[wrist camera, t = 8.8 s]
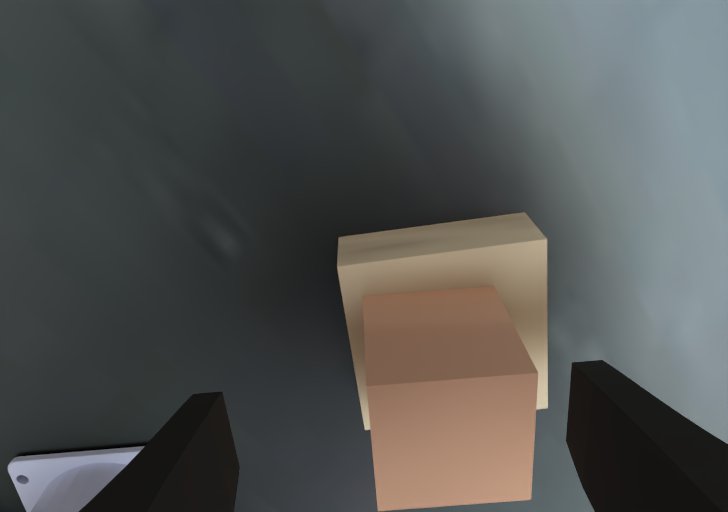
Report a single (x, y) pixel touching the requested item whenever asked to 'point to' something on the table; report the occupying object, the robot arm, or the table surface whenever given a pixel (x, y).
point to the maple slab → (451, 277)
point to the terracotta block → (448, 399)
